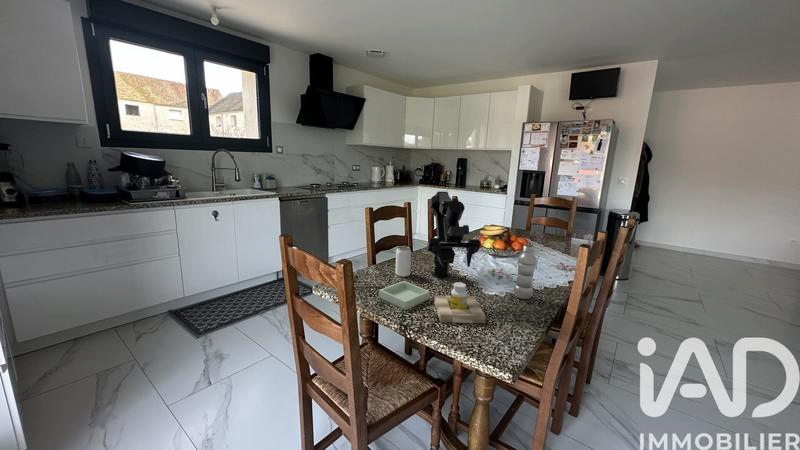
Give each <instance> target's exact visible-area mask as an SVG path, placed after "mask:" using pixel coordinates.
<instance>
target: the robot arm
mask: <svg viewBox="0 0 800 450" xmlns="http://www.w3.org/2000/svg"><path fill="white" fill-rule="evenodd" d="M429 209H430V210H431V214H432V215H433V216H434V217H435V227H436V237H430V238H429V239H428V240H427V241H428V242H427V245H426V250H427V252H430V253H431V254H432V256H431V260H432V263H433V264H434V268H433V269H434V271H433V272H432V273H431V275H432V276H433V277H437V278H440V279H442V280H443V279H446V278H449V277H451V276H452V274H451V273H450V272H449V271H450V264H451V265H452V264H454V262H455V261H454V260H455V256H456V252H455V248H457V249H466V253H465V255H466V265H467V268H470V266H471V262H472V258H473V255H475V254H476V253H478V252H479V250H480V248H481V246H482V242H481V240H480V239H479V238H469V239H468V241H467V242H462V241H463V239H464V237H465V236H468V235H469V234H470V228H469V225H468V224H463V225H462V226H460V221H461V219H462V216H463V213H464V211H465V204H463V202H461V201H460V200H459V198H451V197H450V195H449V192H448V191H440V190H438V191H436V194H435V195H433V196H432V197H431V198H430V202H429ZM453 248H454V249H453Z"/></svg>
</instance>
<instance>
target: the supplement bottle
mask: <svg viewBox="0 0 800 450" xmlns="http://www.w3.org/2000/svg"><path fill="white" fill-rule="evenodd" d="M466 289H467V284H466V283H464V282H461V281H459V282H458V281H457V282H454V283H453V289H452V290H450V296H451V300H450V309H459V310H466V308H467V296H469V295H468V291H467V290H466Z"/></svg>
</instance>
